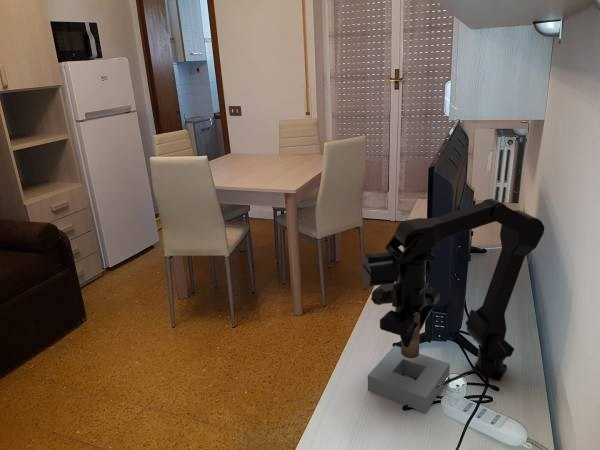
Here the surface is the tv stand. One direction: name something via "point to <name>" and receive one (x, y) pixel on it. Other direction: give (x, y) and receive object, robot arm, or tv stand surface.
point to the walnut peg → (413, 342)
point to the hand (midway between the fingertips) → (410, 341)
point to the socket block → (408, 379)
